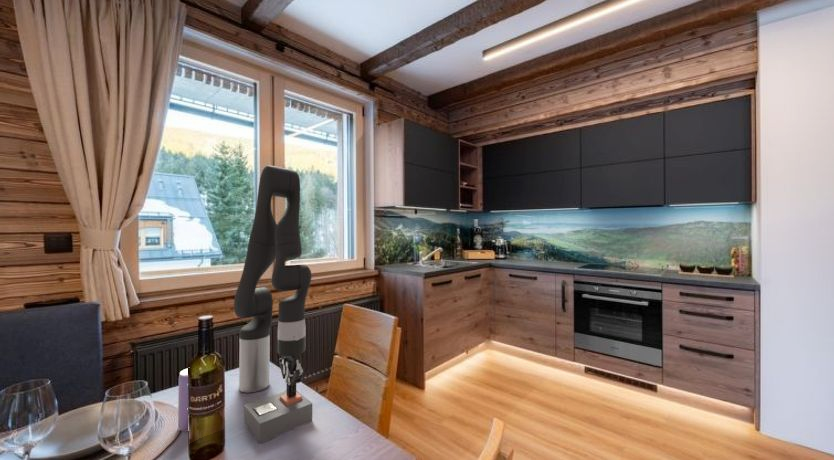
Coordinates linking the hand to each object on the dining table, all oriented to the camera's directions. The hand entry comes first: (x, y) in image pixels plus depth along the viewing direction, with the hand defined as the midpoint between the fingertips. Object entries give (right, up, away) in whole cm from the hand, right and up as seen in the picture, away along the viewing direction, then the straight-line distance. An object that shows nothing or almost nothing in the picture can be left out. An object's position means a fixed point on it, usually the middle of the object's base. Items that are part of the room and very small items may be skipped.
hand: (291, 396), depth 93 cm
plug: (-5, -5, -5) cm, 9 cm away
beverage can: (-25, -6, -4) cm, 26 cm away
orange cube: (0, -5, 0) cm, 5 cm away
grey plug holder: (-3, -6, -2) cm, 7 cm away
